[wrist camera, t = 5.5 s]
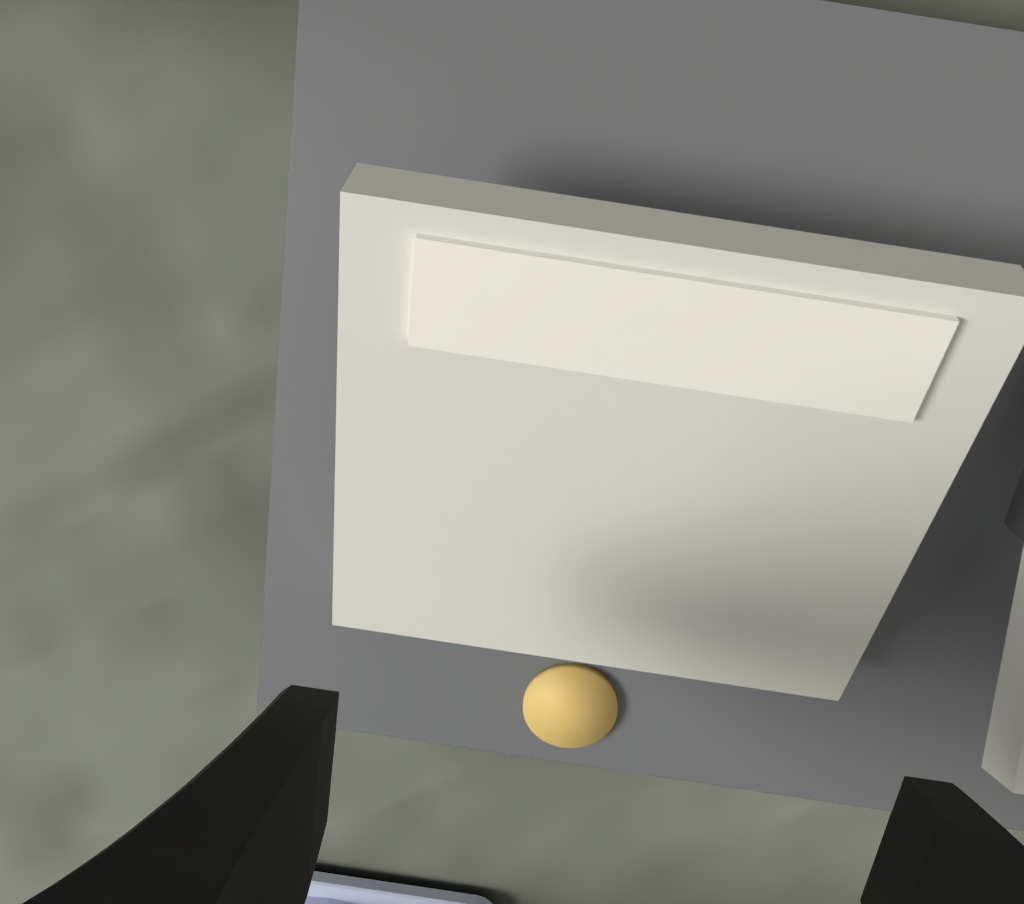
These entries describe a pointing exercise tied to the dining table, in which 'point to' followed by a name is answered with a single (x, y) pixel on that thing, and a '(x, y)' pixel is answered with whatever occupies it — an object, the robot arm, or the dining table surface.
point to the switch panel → (686, 189)
